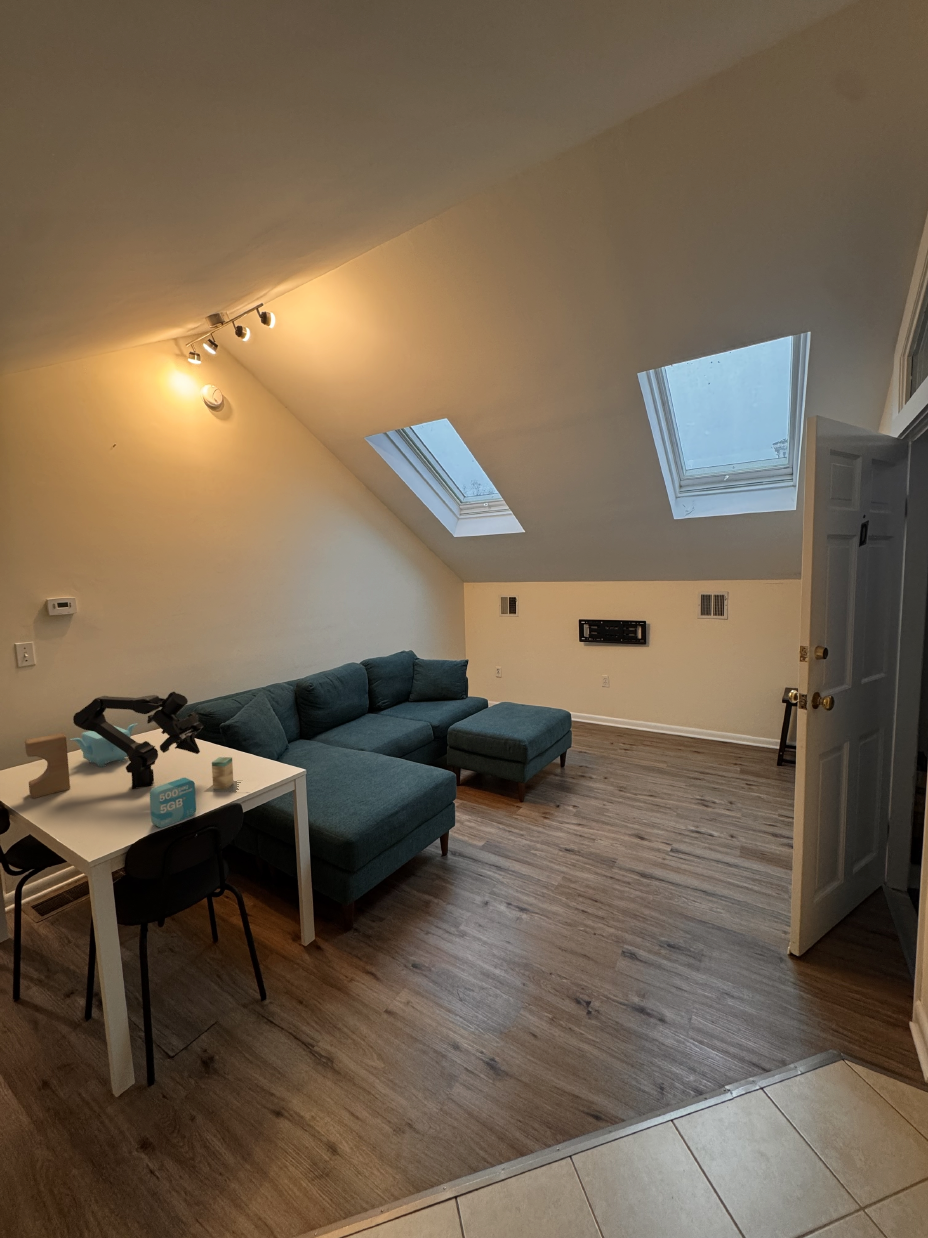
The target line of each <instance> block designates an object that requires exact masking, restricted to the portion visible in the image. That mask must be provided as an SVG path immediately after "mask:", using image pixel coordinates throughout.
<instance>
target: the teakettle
mask: <svg viewBox="0 0 928 1238" xmlns="http://www.w3.org/2000/svg"><path fill="white" fill-rule="evenodd" d="M137 725H138V723H133V724H129V726H128V727H127V728H126V729H125V728H122V727H118V726H116V725H113V726H114V727H115V728H117V729H118V730H120V731H121V732H123V733H124V734H126V735H127V736H129V737H130V738H132V737H131V735H132V732H133V729H134V727H136V726H137ZM69 741H75V742H76V743H77V744H78V747H79V748H80V751H81V752H82V757H83V759H85V760H87V761H89V764H95V765H97V766H96V767H97V768H102V767H106V766H107V763H111V762H115V761H116V762H123V761H125V760H126V758H128V756H127V754H126V753H125V752H124V751H122V750H121V749H119V748H118V747H116V746H115V745H113V744H112V743H111V742H109V741H108V740H106V739H105V738H103V737H102V736H100V735H99V734H97V733H96V732H94V731H88V730H87V731H84V732H81V738H80V737H74V738H70V739H69Z"/></svg>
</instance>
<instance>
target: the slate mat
mask: <svg viewBox="0 0 928 1238" xmlns="http://www.w3.org/2000/svg"><path fill="white" fill-rule="evenodd" d="M234 780H235V779H233V784H232V785H231V786H229V787H228V788H227V789H213V784H212V785H210V786H209V787H207V788H206V789H205V790H204V791H203V792H204V793H206V792H208V793H234V794H235V793H236V792H237V791H236V790H239V789H238V788H237V787H239V786H237V785H239V784H237V783H241V782H237V781H238V780H237V781H234Z"/></svg>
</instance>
